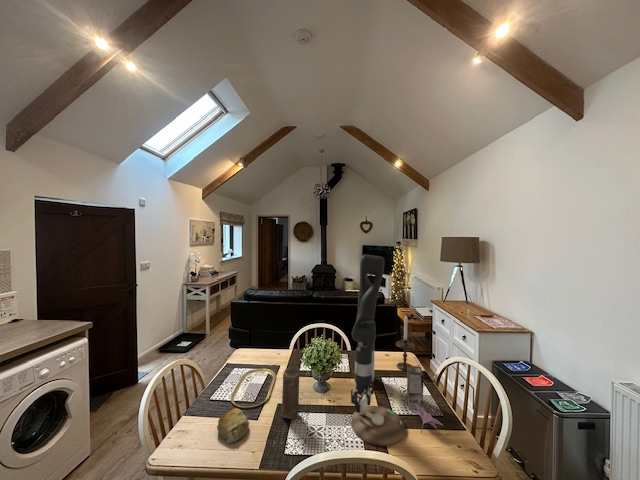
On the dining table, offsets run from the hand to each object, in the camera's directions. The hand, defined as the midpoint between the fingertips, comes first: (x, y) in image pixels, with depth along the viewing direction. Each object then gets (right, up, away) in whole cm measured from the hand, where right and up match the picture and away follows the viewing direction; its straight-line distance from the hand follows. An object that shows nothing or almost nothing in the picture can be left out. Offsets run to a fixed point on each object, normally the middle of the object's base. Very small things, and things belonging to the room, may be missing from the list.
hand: (362, 408), depth 124 cm
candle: (-32, -4, 0) cm, 32 cm away
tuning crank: (+3, -2, -3) cm, 5 cm away
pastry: (-54, -4, -9) cm, 55 cm away
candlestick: (+32, -3, +45) cm, 55 cm away
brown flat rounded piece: (+5, -4, -6) cm, 9 cm away
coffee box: (+26, -4, +10) cm, 29 cm away
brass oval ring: (-53, -3, +22) cm, 57 cm away
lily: (+25, -5, -7) cm, 27 cm away
